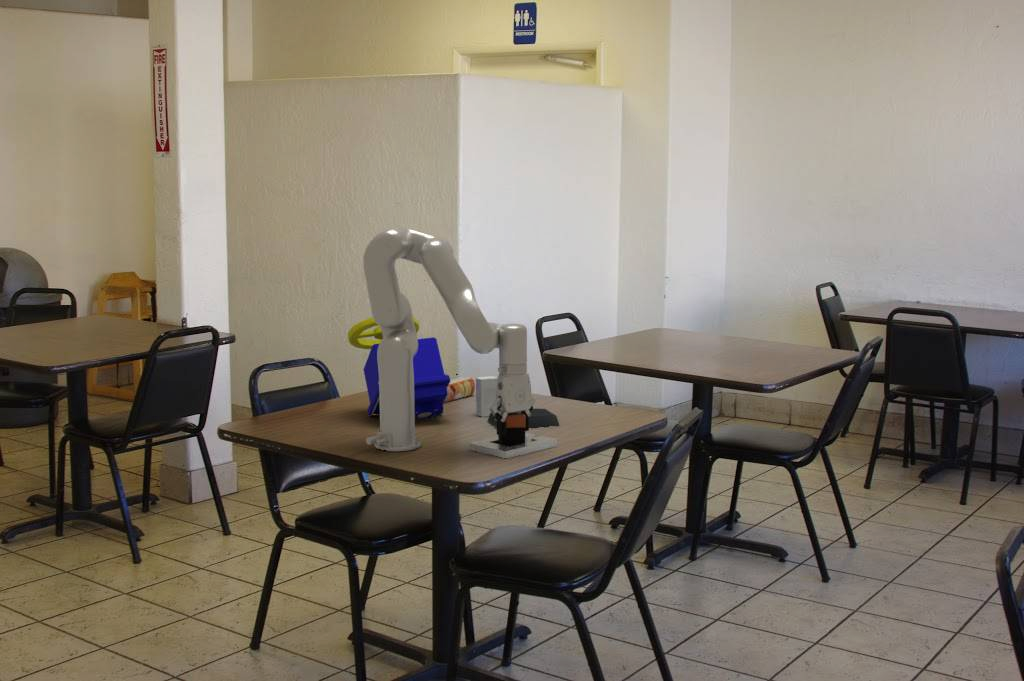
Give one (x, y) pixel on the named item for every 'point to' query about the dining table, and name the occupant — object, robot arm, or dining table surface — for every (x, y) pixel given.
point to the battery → (514, 429)
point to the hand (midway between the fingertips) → (512, 432)
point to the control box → (425, 366)
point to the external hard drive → (534, 419)
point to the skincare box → (485, 394)
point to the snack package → (460, 388)
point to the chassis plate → (503, 451)
